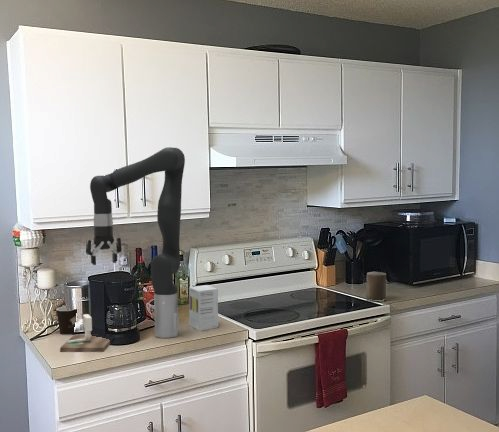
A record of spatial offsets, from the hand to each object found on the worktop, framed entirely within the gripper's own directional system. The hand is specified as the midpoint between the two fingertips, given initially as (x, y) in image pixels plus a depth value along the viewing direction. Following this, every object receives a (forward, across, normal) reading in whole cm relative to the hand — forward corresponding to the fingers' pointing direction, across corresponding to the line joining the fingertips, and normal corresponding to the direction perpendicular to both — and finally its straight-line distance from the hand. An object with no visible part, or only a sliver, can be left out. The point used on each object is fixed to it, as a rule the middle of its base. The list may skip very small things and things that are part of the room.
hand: (104, 263), depth 238 cm
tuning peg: (+26, +16, +14) cm, 34 cm away
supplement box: (+28, -36, +18) cm, 49 cm away
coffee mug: (+28, +12, -7) cm, 32 cm away
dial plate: (+28, +12, +14) cm, 34 cm away
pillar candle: (+28, -132, +26) cm, 137 cm away
